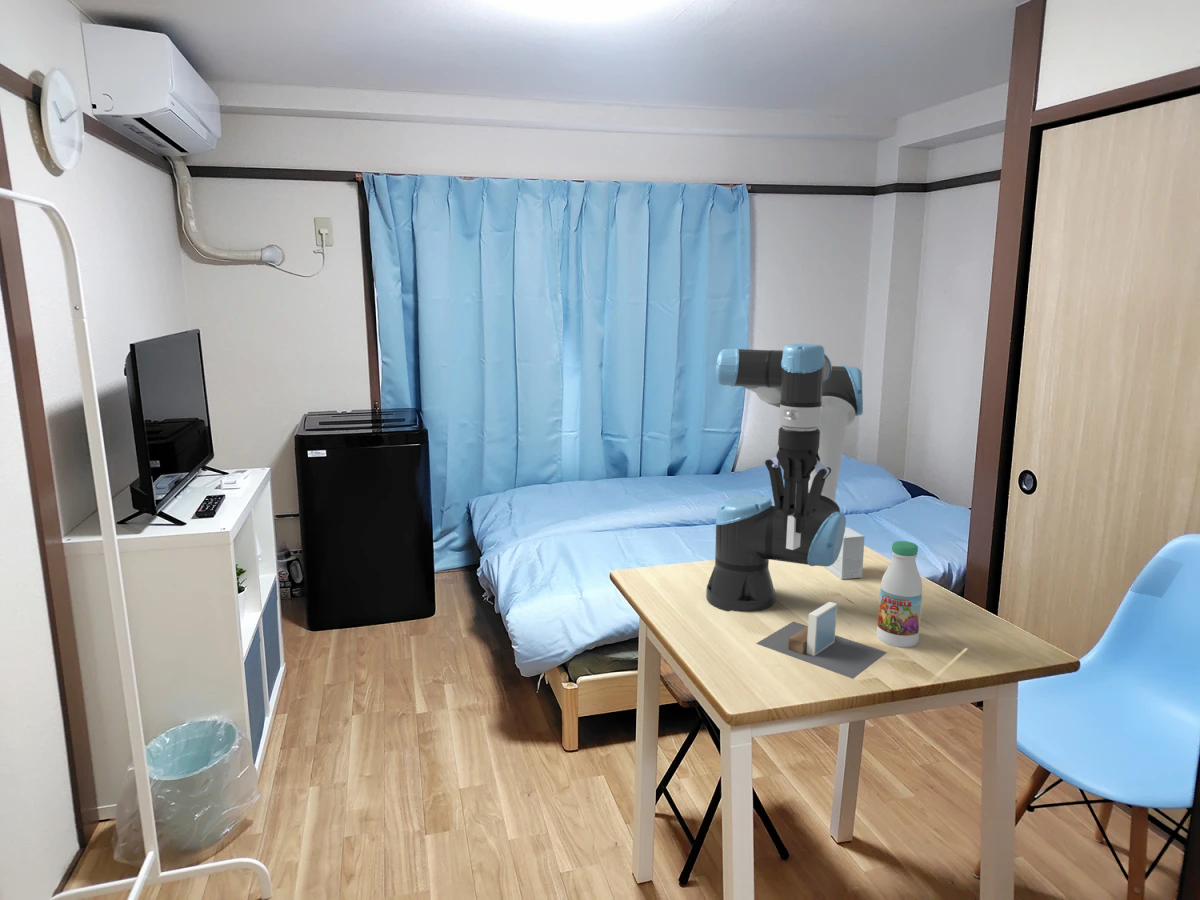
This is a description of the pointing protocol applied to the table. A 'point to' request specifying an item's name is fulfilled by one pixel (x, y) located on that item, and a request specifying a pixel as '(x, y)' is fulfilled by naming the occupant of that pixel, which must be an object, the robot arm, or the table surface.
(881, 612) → the milk bottle
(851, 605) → the table surface
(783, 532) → the robot arm
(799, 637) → the block
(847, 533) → the small box
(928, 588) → the table surface
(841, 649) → the mat
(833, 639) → the tile
